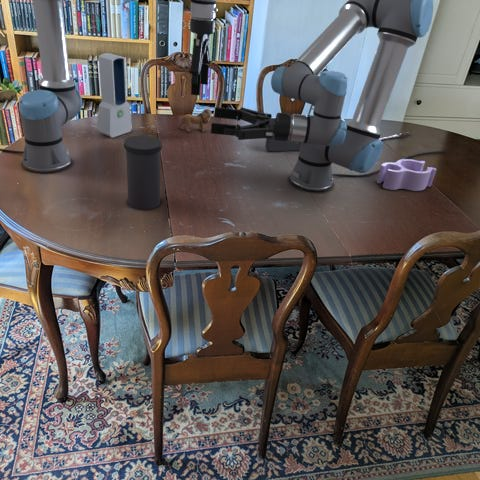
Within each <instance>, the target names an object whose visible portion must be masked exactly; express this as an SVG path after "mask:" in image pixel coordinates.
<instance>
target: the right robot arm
mask: <svg viewBox="0 0 480 480" xmlns="http://www.w3.org/2000/svg"><path fill="white" fill-rule="evenodd" d="M433 15H434V1H433V0H347V1H346V2H345V3H344V4H343V5H342V6H341V7H340V9H339V11H338V15H337V17H335V19H334V20H333V21H332V22H331V23H330V24H329V25H328V26H327V27H326V28H325V29H324V30H323V31H322V33H320V35H318V37H317V38H316V39H315V40H314V41H313V42H312V43H311V44H310V45H309V46H308V47H307V48H306V49H305V51H303V53H302V54H301V55H300V56H299V57H297V59H296V60H295V61H294V62H293V63H292V64H291V65H290V66H289V67H288V66H282V65H281V66H278V67H276V68H275V69H274V71H273V73H272V74H271V79H270V86H271V90H272V91H273V92H274V93H276V94H278V95H281V96H283V97H285V98H290V99H293V100H296V101H300V102H303V103H306V104H309V105H311V104H312V105H314V106H313V109H314V110H313V112H312V113H313V114H312V116H307V115H308V114H307V115H306V114H299V113H292V114H290V113H286V112H277V113H276V114H275V118H273V114H272V113H267V112H261V111H258V110H253V109H251V108H246V107H243V106H241V107H240V108H239V109H235V108H225V107H216V106H215V107H214V118H217V119H227V120H236V121H237V122H238V121H244V122H246V123H249V124H246V125H240V124H238V123H237V124H230V123H229V124H228V123H219V122H211V125H210V134H212V135H213V134H214V135H220V136H221V135H222V136H223V135H224V136H231V137H236V138H237V140H239V141H244V140H259V139H266V138H269V139H272V136H273V134H274V139H275V140H278V141H287V139H289V141H290V142H296V144H298V143H299V142H300V143H301V145H300V150H299V152H298V158H297V159H298V160H297V161H296V162H295V165H294V167H293V168H292V170H291V172H290V174H289V182H290V183H291V185H293V186H294V187H296V188H297V189H300V190H303V191H306V192H311V193H324V192H327V191H329V190H331V189H332V187H333V184H334V178H333V177H348V178H362V177H369V176H372V175H375V174H377V173H378V174H379V173H380V169H378V170H376V171H372V172H370V173H367V172H368V171H370V170H371V169H372V168H373V167H374V165H375V164H376V163H377V162H378V160H379V158H380V157H381V155H382V152H383V147H384V143H383V140H379V138H381V136H382V133H381V131H380V128H379V127H380V125H381V122H382V119H383V116H384V114H385V111H386V109H387V106H388V103H389V100H390V98H391V95H392V92H393V91H394V90H393V89H394V87H395V84H396V81H397V79H398V76H399V74H400V71H401V68H402V66H403V64H404V60H405V58H406V55H407V52H408V50H409V49H410V48H411V47H413V46H415V45H416V43H417V41H418V38H423V37H425V36H426V35H427V33H428V32H429V30H430V27H431V24H432V20H433ZM369 28H375V29H378V30H377V33H376V35H377V37H378V40H379V42H378V45H377V48H376V50H375V54H374V57H373V60H372V62H371V65H370V68H369V70H368V74H367V76H366V79H365V82H364V85H363V87H362V91H361V93H360V95H359V99H358V102H357V105H356V107H355V110H354V113H353V116H352V119H350V120H349V121H347V120H345V119H344V118H342V113H343V108H344V104H345V100H346V95H347V90H348V82H349V79H348V76H347V75H346V74H345V73H343V72H340V71H334V70H326V71H323V70H324V69H326V67H328V66H329V64H330V63H331V62H332V61H333V60H334V59H336V57H337V56H338V54H339V53H340V52H342V50H343V49H344V48H345V47H346V46H347V45H348V44H349V43H350V41H351V40H352V39H353V38H354V37H355V36H356V35H359V34H362V33H363V32H364V31H365V30H366V29H369ZM322 71H323V72H322ZM441 153H442V154H443V153H445V151H444V150H438V151H437V150H436V151H426V152H425V151H424V152H419V153H415V154H414V153H413V154H411V155H408V156H405V157H403V158H402V159H411V158H413V157H417V156H422V155H429V154H441ZM332 164H335V165H337V166H340V167H342V168H344V169H347V170H349V171H351V172H355V173H359V174H347V173H333V170H332ZM364 173H365V174H364Z"/></svg>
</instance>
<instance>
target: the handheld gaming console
mask: <svg viewBox="0 0 480 480" xmlns="http://www.w3.org/2000/svg"><path fill="white" fill-rule="evenodd" d="M300 145H301V143H300V142H299V143H298V144H296V142H290V141H289V139H287V141H278V140H275V139H274V134H273V136H272V139H269V138H265V145H264V146H265V150H267V151H268V152H289V151H290V152H292V151H294V152H295V151H300Z"/></svg>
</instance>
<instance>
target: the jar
mask: <svg viewBox="0 0 480 480" xmlns="http://www.w3.org/2000/svg"><path fill="white" fill-rule="evenodd" d="M125 157H126V179H127V180H126V181H127V183H126V184H127V202H128V206H129V207H131V208H133V209H135V210H141V211H145V210H146V211H147V210H153V209H156V208H157V207H159V206H160V205H161V150H160V151H159V152H157V153H155V154H149V155H139V154H133V153H130V152H128V151H126V150H125Z"/></svg>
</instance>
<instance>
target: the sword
mask: <svg viewBox="0 0 480 480" xmlns="http://www.w3.org/2000/svg"><path fill="white" fill-rule="evenodd" d="M401 134H402V133H396V134H392V135H389V136H383V137H380V138H379V140H381V141H384V140H389V139H393V138H400V137H402V136H406V135H409V134H404V135H401Z"/></svg>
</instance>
